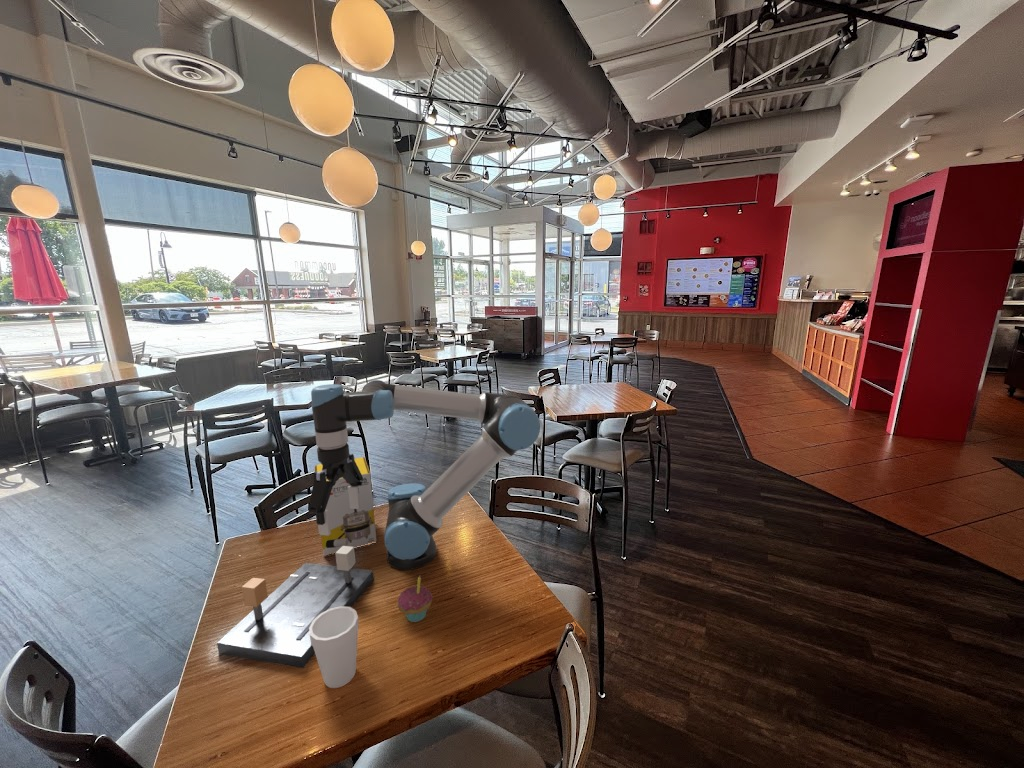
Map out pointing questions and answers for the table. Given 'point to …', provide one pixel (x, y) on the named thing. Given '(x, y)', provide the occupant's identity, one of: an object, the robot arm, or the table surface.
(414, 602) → the cupcake
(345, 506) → the packaging box
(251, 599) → the fader orange
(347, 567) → the fader cream
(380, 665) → the table surface
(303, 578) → the fader console
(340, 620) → the foam cup
